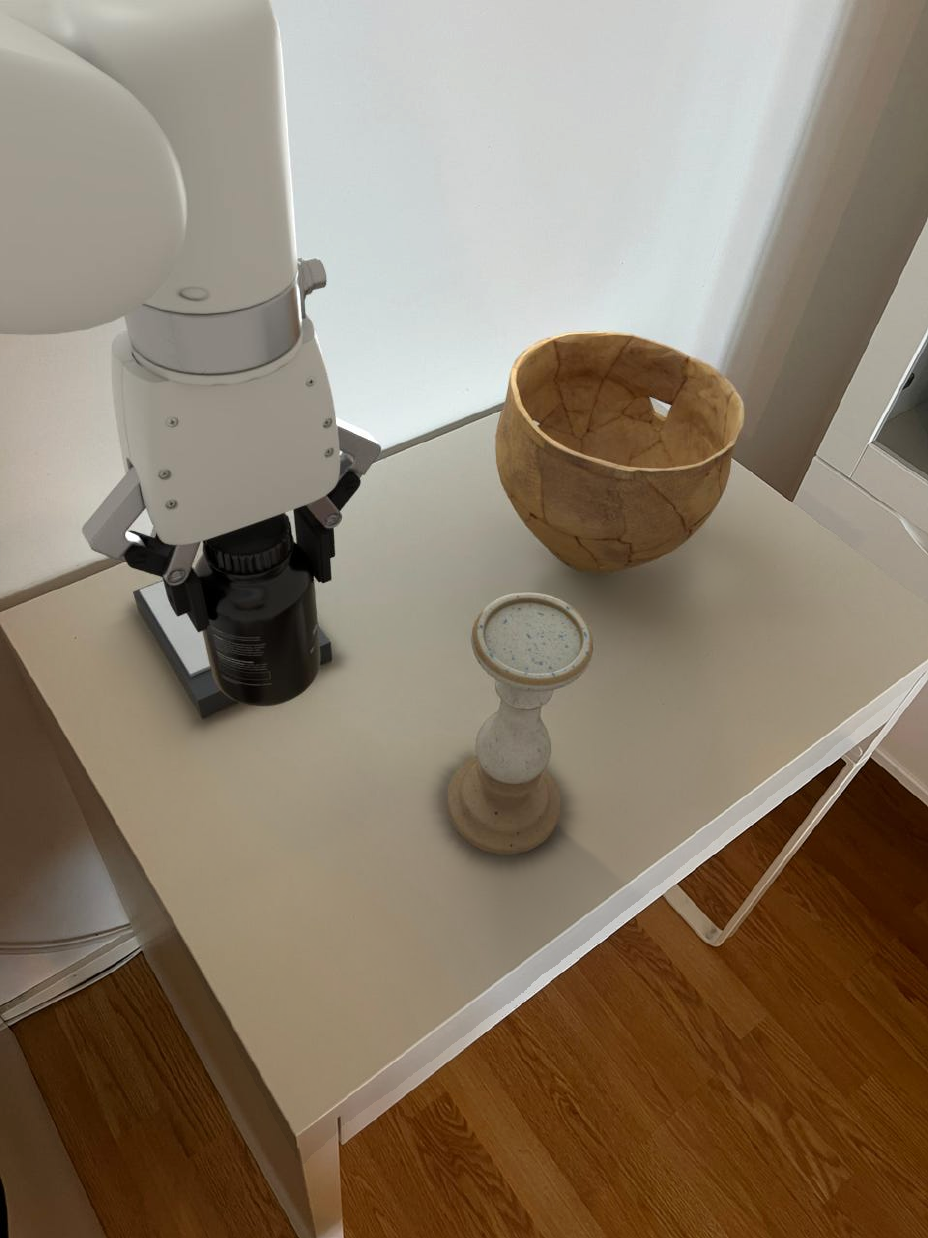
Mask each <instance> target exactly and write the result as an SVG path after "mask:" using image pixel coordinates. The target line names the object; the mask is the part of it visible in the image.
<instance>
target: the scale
mask: <svg viewBox="0 0 928 1238" xmlns="http://www.w3.org/2000/svg"><path fill="white" fill-rule="evenodd" d="M193 569H195V567H194V568H193ZM132 595H133V597H134V601H135V604H136V608H137V611H138V612H139V614H140V616H141V618H142V619H143V621H144V623H145V624H146V626H147V628H148V631H150V633H151V634H152V635H151V636H153V638H154V640H155V642H156V643H157V645H158V647H159V649H160V650H161V652H162V653H163V655H164V657H165V658H166V660H167V662H168V663H169V665H170V668H171V669H172V671H173V672H174V673H175V675H176V677H177V679H178V680H179V682H180V684H181V686H182V688H183V689H184V691H185V692H186V694H187V696H188V697H189V699H190V701H191V702H192V704H193V706H194V707H195V710H196V711H197V713H198V714H199V716H200V718H201V719H202V720H203V719H206V718H208V717H210V716H212V715H215V714H217V713H220V712H221V711H223V710H226V709H228V708H229V707H230V708H231V707H232V706H235V705H237V704H239V702H237V701H235V700H233V699H231V698H230V697H228V696H227V695H225V694H224V693H223V692H222V691H221V690H220V689H219V687H218V686H217V684H216V683H215V681H214V678H213V675H212V672H211V668H210V664H209V659H208V655H207V650H206V646H205V641H204V637H203V632H202V631H201V632H197V630H196V628H195V627H194V625H193V623H192V622H191V620H190V618H189V617H188V615H187V613H186V614H183V615H181V616H178V617H177V615H176V614H175V612H174V610H173V609H172V607H171V605H170V602H169V600H168V597H167V593H166V590H165V586H164V582H163V579H162V580H160V581H157V582H155V583H152V584H150V585H147V586H144V587H141V588H139V589H136V590H134V591H132ZM322 629H323V628H321V627H320V625H319V624H318V631H319V643H320V666H323V665H325V664H328V663H330V662H332V661H333V655H332V641H331V640H330V639H329V638H328V636H327V635H326V633H325V632H324V631H323V630H322Z"/></svg>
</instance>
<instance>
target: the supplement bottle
mask: <svg viewBox="0 0 928 1238" xmlns="http://www.w3.org/2000/svg"><path fill="white" fill-rule="evenodd" d="M194 568H195V569H194ZM194 568H193V569H194V571H195V572H196V574H197V576H198V577H199V579H200V581H201V585H202V590H203V595H204V599H205V604H206V609H207V614H208V618H209V623H210V626H207V629H206V630H204V631H202V632H203V637H204V641H205V646H206V650H207V655H208V659H209V664H210V668H211V672H212V675H213V678H214V681H215V683H216V684H217V686H218V687H219V689H220V690H221V691H222V692H223V693H224V694H225V695H227V696H228V697H230V698H231V699H233V700H235V701H237V702H239V703H240V704H243V705H246V706H249V707H250V706H251V707H274V706H278V705H281V704H282V705H283V704H285V703H287V702H290V701H292V700H294V699H296V698H297V697H299V696H300V695H302V694H303V693H305V692H306V691H307V690H308V689H309V688H310V686H311V685H312V684H313V683H314V681H315V680H316V678H317V676H318V674H319V671H320V643H319V631H318V625H319V619H318V610H317V609H318V608H317V596H316V583H315V577H314V573H313V567H312V564H311V561H310V559H309V557H308V556H307V554H306V553H305V551H304V550H303V549H302V548H301V547H300V546H299V545H298V544H297V543H296V542H295V539H294V536H293V530H292V523H291V521H290V518H289V516H288V514H286V512H285V513H282V514H279V515H277V516H274V517H271V518H268V519H265V520H263V521H260V522H257V523H254V524H251V525H248V526H245V527H243V528H240V529H237V530H234V531H231V532H228V533H225V534H222V535H219V536H216V537H213V538H210V539H207V540H204V541H202V553H201V555H200V557H199V558H198V560H197V562H196V564H195V566H194ZM239 703H238V704H239Z"/></svg>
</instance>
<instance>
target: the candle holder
mask: <svg viewBox="0 0 928 1238" xmlns="http://www.w3.org/2000/svg"><path fill="white" fill-rule="evenodd" d="M470 636H471V637H470V642H471V644H470V645H471V649H472V652H473V656H474V657H475V659H476V661H477V662H478V664H479V665H480V667H481V668H482V670H483V671H485V672H486V673H487V675H489V676H490V677H491V678H493V679H494V680H495V681H494V688H495V689H494V690H495V692H496V694H497V696H498V698H499V699H500V702H499V706H498V709H497V710H496V711H495V712H493V713H492V714H491V715H490V716H489V717H488V718H487V719H486V720H485V721H484V722H483V724H482V725H481V727H480V728H479V731H478V732H477V735H476V738H475V748H474V749H475V756H473V757H470V758H469V759H467V760H466V761H465V762H464V763H462V764H461V765H460V766H459V767H458V769H457V770H456V771H455V772H454V774H453V775H452V777H451V780H450V782H449V785H448V788H447V796H446V806H447V811H448V816H449V819H450V821H451V823H452V825H453V827H454V828H455V830H456V831H457V832H458V834H459V835H460V836H461V837H462V838H463V839H464V840H465V841H467V842H468V843H469V844H471V845H473V846H474V847H476V848H478V849H480V850H482V851H485V852H487V853H491V854H496V855H517V854H523V853H525V852H528V851H531V850H533V849H535V848H537V847H539V846H540V845H541V844H542V843H544V842H545V841H546V840H547V839H548V838H549V836H551V835H552V833H553V831H554V830H555V828H556V825H557V823H558V821H559V818H560V813H561V795H560V791H559V788H558V786H557V783H556V781H555V780H554V778H553V776H552V775H551V774H550V772H549V771H548V770H547V769H546V767H547V766H548V764H549V762H550V759H551V755H552V742H551V737H550V734H549V731H548V729H547V726H546V724H545V723H544V721H543V720H542V718H541V713H542V707H544V706H545V705H547V703H549V701H550V700H551V698H552V697H553V693H554V691H555V690H558V689H562V688H564V687H567V686H568V685H570V684H572V683H573V682H575V681H576V680H578V679H579V678H580V677H581V676H583V674H584V673H585V672H586V670H587V669H588V667H589V666H590V663H591V661H592V658H593V654H594V638H593V633H592V630H591V628H590V626H589V624H588V621H586V619H585V617H584V616H583V615H582V614H581V613H580V612H579V611H578V610H577V609H576V608H575V607H574V606H572V605H571V604H569V603H568V602H566V601H564V600H562V599H560V598H558V597H555V596H553V595H550V594H546V593H542V592H534V591H520V592H514V593H509V594H506V595H503V596H501V597H498V598H496V599H494V600H492V601H491V602H490V603H488V604H487V605H486V606H485V607H484V608H483V609H482V610H481V611H480V613H478V615H477V617H476V619H475V620H474V622H473V626H472V628H471V635H470Z"/></svg>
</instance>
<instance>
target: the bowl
mask: <svg viewBox="0 0 928 1238" xmlns="http://www.w3.org/2000/svg"><path fill="white" fill-rule="evenodd" d="M737 390H738V389H736V387H735V386H734V384H732V382H731V381H730V380H729V379H728V378H727V377H726V376H724V375H723V374H722V373H721V372H720V371H719V370H718V369H716V368H715V367H714V366H713V365H711V364H709V363H708V362H705V361H703V360H702V359H699V358H697V357H696V358H695V357H693V356H690V355H688V354H686V353H684V352H683V351H680V350H678V349H675V348H674V347H672V346H669V345H667V344H664V343H661V342H658V341H655V340H653V339H649V338H645V337H642V336H639V335H635V334H631V333H625V332H619V331H618V332H617V331H596V330H593V331H591V330H589V331H571V332H569V331H568V332H564V333H560V334H557V335H553V336H549V337H546V338H544V339H540V340H538V341H537V342H535V343H534V344H531V346H529V347H528V348H526V349H525V350H523V351H522V352H521V354H519V356H518V357H517V358H516V359H515V360H514V362H513V364H512V367H511V370H510V373H509V377H508V384H507V389H506V394H505V399H504V400H505V401H504V404H503V407H502V409H501V411H500V414H499V416H498V420H497V425H496V432H495V435H494V436H495V437H494V451H495V464H496V469H497V473H498V477H499V480H500V483H501V486H502V488H503V491H504V493H505V494H506V496H507V498H508V500H509V501H510V503H511V505H512V507H513V508H514V510H515V512H516V514H517V515H518V517H519V519H520V520H521V521H522V523H523V524H524V525H525V527H526V528H527V529H528V530H529V532H531V533H532V534H533V536H534V537H535V538H536V539H537V540H538V541H539V542H540V543H541V544H542V545H543V546H544V547H545V548H546V549H547V550H548V551H549V552H550V553H551V555H553V556H554V558H556V559H557V560H558V561H560V563H562V564H564V565H565V566H567V567H569V568H571V569H573V570H575V571H577V572H581V573H585V574H595V575H603V574H612V573H616V572H619V571H624V570H627V569H630V568H634V567H637V566H640V565H643V564H647V563H651V562H652V561H656V560H658V559H660V558H663V556H665V555H668V554H670V553H672V552H674V551H676V550H677V549H678V548H679V547H681V546H682V545H684V543H686V542H687V541H688V540H689V539H691V538H692V537H693V536H694V535H695V534H696V533H697V532H698V530H699V529H700V528H701V527H702V526H703V525H704V524H705V523H706V521H707V520H708V519H709V517H711V515H712V513H713V512H714V510H715V509H716V507H717V506H718V505H719V502H720V501H721V499H722V497H723V495H724V493H725V490H726V488H727V486H728V485H727V484H728V481H729V478H730V474H731V467H732V459H733V455H734V452H735V449H736V446H737V443H738V438H739V435H740V432H741V431H742V429H743V427H744V421H745V404H744V401H743V399H742V397H741V395H740V394H739V393H738V391H737ZM652 399H653V400H656V401H659V402H661V403H663V404H666V405H669V409H668V411H667V414H666V416H664V415H663V414H660V413H659V412H656V410H655V408H654V405H653V403H652ZM535 422H536V423H538V424H536V423H535Z"/></svg>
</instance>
